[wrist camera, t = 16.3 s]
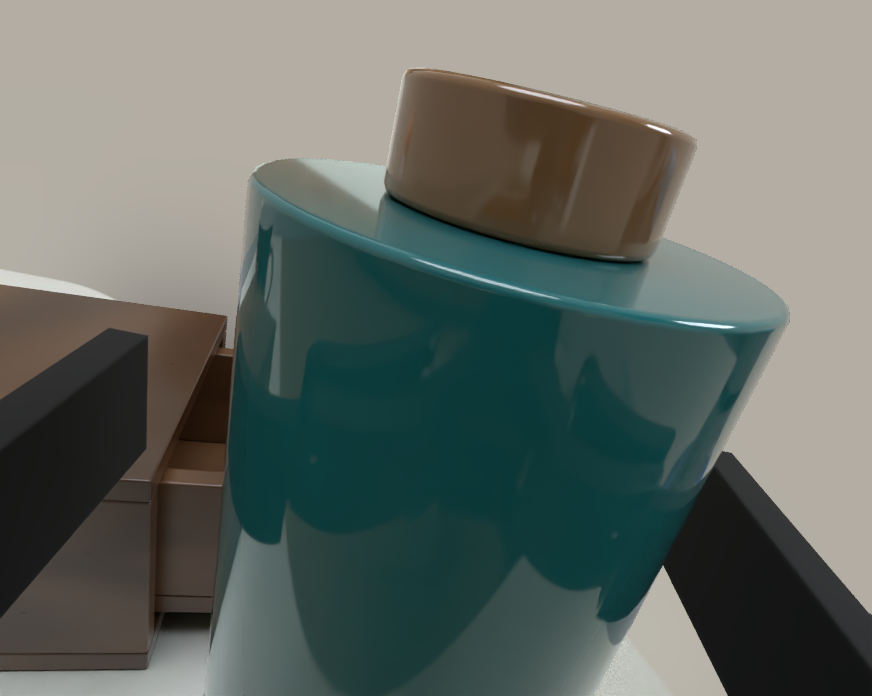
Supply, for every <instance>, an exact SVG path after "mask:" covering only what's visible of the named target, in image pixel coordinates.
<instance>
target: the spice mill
mask: <svg viewBox="0 0 872 696" xmlns="http://www.w3.org/2000/svg"><path fill="white" fill-rule="evenodd" d="M696 149H697V140H696V139H695V138H694V137H692V136H691V135H690V134H688V133H686V132H684V131H682V130H679V129H677V128H674V127H671V126H668V125H665V124H662V123H659V122H656V121H653V120H649V119H646V118H643V117H639V116H636V115H632V114H629V113H625V112H622V111H618V110H614V109H611V108H607V107H603V106H599V105H596V104H592V103H588V102H584V101H580V100H576V99H572V98H568V97H564V96H560V95H556V94H552V93H548V92H544V91H539V90H535V89H531V88H526V87H522V86H518V85H513V84H508V83H504V82H500V81H495V80H490V79H485V78H480V77H476V76H471V75H465V74H460V73H455V72H449V71H443V70H437V69H429V68H412V69H408V70H407V71H406V72H405V74H404V75H403V77H402V82H401V88H400V93H399V99H398V104H397V110H396V115H395V121H394V127H393V132H392V137H391V143H390V148H389V154H388V159H387V165H386V166H381V165H374V164H367V163H359V162H349V161H340V160H327V159H285V160H276V161H271V162H267V163H264V164H260V165H259V166H257V167H256V168H254V169H253V171H252V173H251V175H250V177H249V180H248V187H247V199H246V211H245V222H244V234H243V246H242V258H241V270H240V281H239V292H238V293H239V294H238V305H237V317H236V328H235V339H234V351H233V363H232V374H231V386H230V398H229V409H228V421H227V433H226V444H225V456H224V468H223V480H222V491H221V503H220V515H219V526H218V538H217V550H216V561H215V573H214V585H213V596H212V608H211V620H210V632H209V643H208V655H207V667H206V678H205V690H204V696H595V694H596V692H597V690H598V689H599V687H600V685H601V683H602V681H603V679H604V677H605V675H606V673H607V671H608V669H609V667H610V665H611V664H612V662H613V660H614V658H615V656H616V654H617V652H618V650H619V648H620V646H621V644H622V642H623V641H624V639H625V637H626V635H627V633H628V631H629V629H630V627H631V625H632V623H633V621H634V619H635V617H636V615H637V613H638V611H639V610H640V608H641V606H642V604H643V602H644V600H645V598H646V596H647V594H648V593H649V591H650V589H651V587H652V585H653V583H654V581H655V579H656V577H657V575H658V573H659V571H660V569H661V568H662V566H663V564H664V562H665V560H666V558H667V556H668V554H669V552H670V550H671V548H672V546H673V545H674V543H675V541H676V539H677V537H678V535H679V533H680V531H681V529H682V527H683V525H684V523H685V522H686V520H687V518H688V516H689V514H690V512H691V510H692V508H693V506H694V504H695V502H696V500H697V498H698V497H699V495H700V493H701V491H702V489H703V487H704V485H705V483H706V481H707V479H708V477H709V475H710V474H711V472H712V470H713V468H714V466H715V464H716V462H717V460H718V458H719V456H720V454H721V452H722V450H723V449H724V446H725V445H726V443H727V441H728V439H729V437H730V435H731V433H732V431H733V429H734V427H735V425H736V424H737V422H738V419H739V418H740V416H741V414H742V412H743V410H744V408H745V406H746V404H747V402H748V401H749V399H750V397H751V395H752V393H753V391H754V389H755V387H756V385H757V383H758V381H759V379H760V378H761V376H762V374H763V372H764V370H765V368H766V366H767V364H768V362H769V360H770V358H771V356H772V355H773V352H774V351H775V349H776V347H777V345H778V343H779V341H780V339H781V337H782V335H783V333H784V331H785V330H786V327H787V326H788V324H789V322H790V312H789V307H788V306H787V304H786V303H785V302H784V300H783V299H782V298H781V297H779V296H778V295H777V294H776V293H775V292H773V291H772V290H771V289H769V288H768V287H767V286H766V285H764V284H762V283H761V282H759V281H758V280H756V279H755V278H753V277H751V276H749V275H747V274H745V273H744V272H742V271H740V270H738V269H736V268H734V267H732V266H730V265H728V264H726V263H723V262H721V261H719V260H717V259H715V258H712V257H710V256H708V255H705V254H703V253H701V252H698V251H696V250H693V249H691V248H688V247H686V246H683V245H681V244H678V243H675V242H673V241H670V240H667V239H665V238H662V236H663V233H664V231H665V228H666V225H667V223H668V221H669V218H670V215H671V213H672V210H673V208H674V205H675V203H676V200H677V198H678V195H679V193H680V190H681V187H682V185H683V182H684V180H685V177H686V175H687V172H688V170H689V167H690V165H691V162H692V160H693V157H694V155H695V152H696Z"/></svg>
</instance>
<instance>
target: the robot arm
mask: <svg viewBox="0 0 872 696" xmlns="http://www.w3.org/2000/svg"><path fill="white" fill-rule="evenodd" d="M147 385H148V335H143V334H138V333H133V332H128V331H123V330H118V329H113V328H108V329H106V330H105V331H103V332H102V333H100V334H99V335H97V336H96V337H94V338H93V339H91V340H90V341H88V342H86V343H85V344H83V345H82V346H80V347H79V348H77V349H76V350H74V351H73V352H71V353H70V354H68V355H67V356H65V357H64V358H62V359H61V360H59V361H58V362H56V363H55V364H53V365H52V366H50V367H49V368H47V369H46V370H44V371H43V372H41V373H40V374H38V375H37V376H35V377H34V378H32V379H31V380H29V381H28V382H26V383H25V384H23V385H21V386H20V387H18V388H17V389H15V390H14V391H12V392H11V393H9V394H8V395H6V396H5V397H3V398H2V399H0V618H1V617H2V616H3V615H4V614H5V613H6V611H7V610H8V609H9V608H10V607H11V606H12V604H13V603H14V602H15V601H16V600H17V599H18V597H19V596H20V595H21V594H22V593H23V592H24V591H25V589H26V588H27V587H28V586H29V585H30V584H31V582H32V581H33V580H34V579H35V578H36V577H37V575H38V574H39V573H40V572H41V571H42V570H43V568H44V567H45V566H46V565H47V564H48V563H49V561H50V560H51V559H52V558H53V557H54V556H55V554H56V553H57V552H58V551H59V550H60V549H61V548H62V546H63V545H64V544H65V543H66V542H67V541H68V539H69V538H70V537H71V536H72V535H73V534H74V532H75V531H76V530H77V529H78V528H79V527H80V525H81V524H82V523H83V522H84V521H85V520H86V518H87V517H88V516H89V515H90V514H91V513H92V511H93V510H94V509H95V508H96V507H97V506H98V505H99V503H100V502H101V501H102V500H103V499H104V498H105V496H106V495H107V494H108V493H109V492H110V491H111V489H112V488H113V487H114V486H115V485H116V484H117V482H118V481H119V480H120V479H121V478H122V477H123V475H124V474H125V473H126V472H127V471H128V470H129V468H130V467H131V466H132V465H133V464H134V463H135V462H136V460H137V459H138V458H139V457H140V456H141V455H142V453H143V452H144V451H145V450H146V449H147ZM663 565H664V568H665V570H666V572H667V573H668V576H669V578H670V580H671V582H672V584H673V586H674V588H675V590H676V592H677V594H678V596H679V598H680V600H681V602H682V604H683V606H684V608H685V610H686V612H687V614H688V616H689V618H690V620H691V622H692V624H693V626H694V628H695V630H696V632H697V634H698V636H699V638H700V640H701V642H702V644H703V646H704V648H705V650H706V652H707V655H708V657H709V658H710V661H711V662H712V665H713V667H714V669H715V671H716V673H717V675H718V676H719V678H720V681H721V683H722V685H723V687H724V688H725V691H726V693H727V695H728V696H872V615H871V614H869V613H868V612H867V611H866V610H865V608H864V607H863V606H862V605H861V604H860V602H859V601H858V600H857V599H856V598H855V597H854V595H852V593H851V592H850V591H849V590H848V589H847V588H846V586H845V585H844V584H843V583H842V581H841V580H840V579H839V578H838V577H837V576H836V574H835V573H834V572H833V571H832V570H831V569H830V567H829V566H828V565H827V564H826V563H825V562H824V560H823V559H822V558H821V557H820V556H819V555H818V553H817V552H816V551H815V550H814V549H813V548H812V546H811V545H810V544H809V543H808V542H807V541H806V539H805V538H804V537H803V536H802V535H801V534H800V533H799V531H798V530H797V529H796V528H795V527H794V525H793V524H792V523H791V522H790V521H789V520H788V518H787V517H786V516H785V515H784V514H783V513H782V511H781V510H780V509H779V508H778V507H777V506H776V504H775V503H774V502H773V501H772V500H771V499H770V497H769V496H768V495H767V494H766V493H765V492H764V490H763V489H762V488H761V487H760V486H759V484H758V483H757V482H756V481H755V480H754V479H753V477H752V476H751V475H750V474H749V473H748V472H747V470H746V469H745V468H744V467H743V466H742V465H741V463H740V462H739V461H738V460H737V459H736V458H735V456H734V455H733V454H732V453H729V452H723V451H722V452H721V454H720V456H719V458H718V460H717V462H716V464H715V466H714V468H713V470H712V472H711V474H710V475H709V477H708V479H707V481H706V483H705V485H704V487H703V489H702V491H701V493H700V495H699V497H698V498H697V500H696V502H695V504H694V506H693V508H692V510H691V512H690V514H689V516H688V518H687V520H686V522H685V523H684V525H683V527H682V529H681V531H680V533H679V535H678V537H677V539H676V541H675V543H674V545H673V546H672V548H671V550H670V552H669V554H668V556H667V558H666V560H665V562H664V564H663Z"/></svg>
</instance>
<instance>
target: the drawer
mask: <svg viewBox="0 0 872 696" xmlns="http://www.w3.org/2000/svg"><path fill="white" fill-rule="evenodd" d="M233 351H234V349H228V348H220V347H219V348H218V350H217V352H216V354H215V357H214V359H213V361H212V364H211V366H210V368H209V370H208V373H207V375H206V377H205V379H204V382H203V384H202V386H201V389H200V391H199V393H198V395H197V398H196V400H195V402H194V405H193V407H192V409H191V411H190V414H189V416H188V418H187V420H186V423H185V425H184V427H183V430H182V432H181V434H180V436H179V439H178V441H177V443H176V446H175V448H174V450H173V452H172V455H171V457H170V459H169V461H168V464H167V466H166V468H165V471H164V473H163V475H162V477H161V480H160V482H159V484H158V486H157V488H158V504H157V540H156V576H155V612H205V613H211V608H212V596H213V585H214V573H215V561H216V550H217V538H218V526H219V515H220V503H221V491H222V480H223V468H224V456H225V444H226V433H227V421H228V409H229V398H230V386H231V374H232V363H233Z"/></svg>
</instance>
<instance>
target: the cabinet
mask: <svg viewBox="0 0 872 696" xmlns="http://www.w3.org/2000/svg"><path fill="white" fill-rule="evenodd" d="M108 328H113V329H118V330H123V331H128V332H133V333H138V334H143V335H148V385H147V449H146V450H145V451H144V452H143V453H142V455H141V456H140V457H139V458H138V459H137V460H136V462H135V463H134V464H133V465H132V466H131V467H130V468H129V470H128V471H127V472H126V473H125V474H124V475H123V477H122V478H121V479H120V480H119V481H118V482H117V484H116V485H115V486H114V487H113V488H112V489H111V491H110V492H109V493H108V494H107V495H106V496H105V498H104V499H103V500H102V501H101V502H100V503H99V505H98V506H97V507H96V508H95V509H94V510H93V511H92V513H91V514H90V515H89V516H88V517H87V518H86V520H85V521H84V522H83V523H82V524H81V525H80V527H79V528H78V529H77V530H76V531H75V532H74V534H73V535H72V536H71V537H70V538H69V539H68V541H67V542H66V543H65V544H64V545H63V546H62V548H61V549H60V550H59V551H58V552H57V553H56V554H55V556H54V557H53V558H52V559H51V560H50V561H49V563H48V564H47V565H46V566H45V567H44V568H43V570H42V571H41V572H40V573H39V574H38V575H37V577H36V578H35V579H34V580H33V581H32V582H31V584H30V585H29V586H28V587H27V588H26V589H25V591H24V592H23V593H22V594H21V595H20V596H19V597H18V599H17V600H16V601H15V602H14V603H13V604H12V606H11V607H10V608H9V609H8V610H7V611H6V613H5V614H4V615H3V616H2V617H1V618H0V670H70V669H146V668H147V667H148V664H149V661H150V658H151V655H152V652H153V649H154V646H155V643H156V639H157V636H158V633H159V630H160V627H161V624H162V621H163V618H164V614H165V612H155V576H156V540H157V504H158V488H157V486H158V484H159V482H160V480H161V477H162V475H163V473H164V471H165V468H166V466H167V464H168V461H169V459H170V457H171V455H172V452H173V450H174V448H175V446H176V443H177V441H178V439H179V436H180V434H181V432H182V430H183V427H184V425H185V423H186V420H187V418H188V416H189V414H190V411H191V409H192V407H193V405H194V402H195V400H196V398H197V395H198V393H199V391H200V389H201V386H202V384H203V382H204V379H205V377H206V375H207V373H208V370H209V368H210V366H211V364H212V361H213V359H214V357H215V354H216V352H217V350H218V348H219V347H220V348H225V341H226V329H227V316H223V315H216V314H209V313H201V312H194V311H187V310H180V309H173V308H166V307H159V306H151V305H144V304H137V303H130V302H122V301H115V300H108V299H101V298H94V297H86V296H79V295H72V294H65V293H57V292H50V291H43V290H36V289H29V288H21V287H14V286H7V285H0V399H2V398H3V397H5V396H6V395H8V394H9V393H11V392H12V391H14V390H15V389H17V388H18V387H20V386H21V385H23V384H25V383H26V382H28V381H29V380H31V379H32V378H34V377H35V376H37V375H38V374H40V373H41V372H43V371H44V370H46V369H47V368H49V367H50V366H52V365H53V364H55V363H56V362H58V361H59V360H61V359H62V358H64V357H65V356H67V355H68V354H70V353H71V352H73V351H74V350H76V349H77V348H79V347H80V346H82V345H83V344H85V343H86V342H88V341H90V340H91V339H93V338H94V337H96V336H97V335H99V334H100V333H102V332H103V331H105V330H106V329H108Z"/></svg>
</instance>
